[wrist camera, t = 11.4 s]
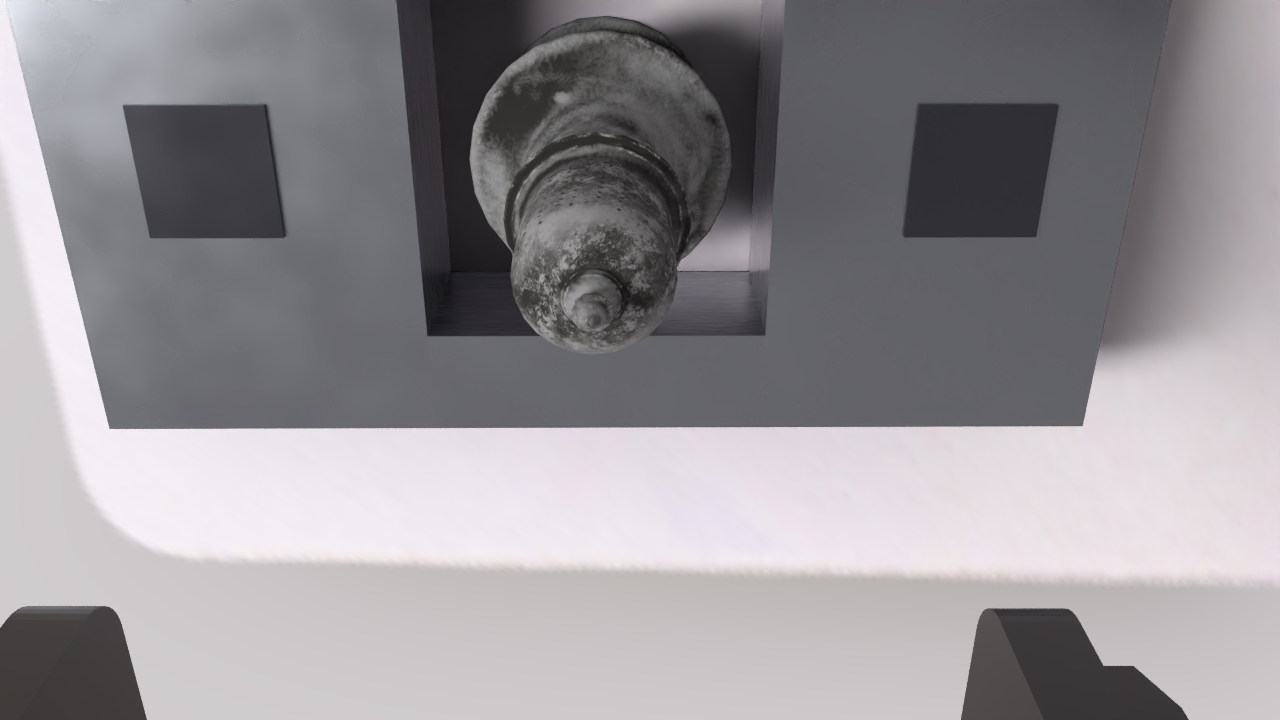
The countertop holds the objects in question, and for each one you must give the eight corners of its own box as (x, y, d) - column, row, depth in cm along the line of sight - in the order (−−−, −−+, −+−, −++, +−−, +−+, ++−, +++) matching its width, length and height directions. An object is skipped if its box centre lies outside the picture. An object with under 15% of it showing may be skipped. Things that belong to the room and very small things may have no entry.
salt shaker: (711, 237, 30) (761, 487, 19) (489, 229, 29) (411, 477, 19) (728, 8, 27) (798, 146, 16) (484, -2, 27) (390, 131, 16)
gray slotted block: (1121, -159, 25) (1205, -151, 22) (1030, 354, 31) (1084, 428, 27) (61, -161, 25) (-36, -154, 21) (169, 356, 31) (108, 430, 27)
